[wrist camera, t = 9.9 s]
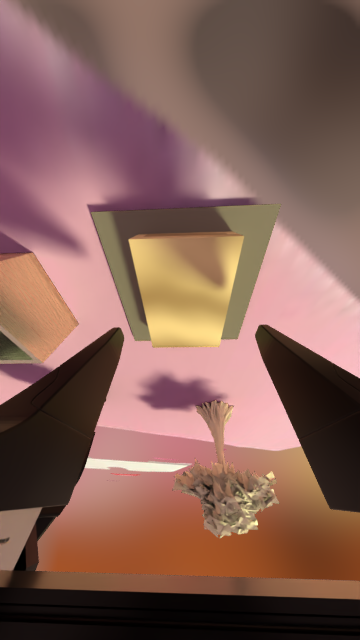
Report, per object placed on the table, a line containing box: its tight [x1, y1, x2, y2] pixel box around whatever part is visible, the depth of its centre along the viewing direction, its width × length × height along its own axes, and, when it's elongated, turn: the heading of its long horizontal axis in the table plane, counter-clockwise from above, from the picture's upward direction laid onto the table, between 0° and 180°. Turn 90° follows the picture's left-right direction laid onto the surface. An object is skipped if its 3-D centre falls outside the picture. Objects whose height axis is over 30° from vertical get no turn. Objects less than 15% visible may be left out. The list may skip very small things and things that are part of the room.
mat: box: [91, 204, 281, 341], centre depth 14 cm, size 13×13×1 cm
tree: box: [173, 400, 279, 538], centre depth 26 cm, size 18×16×17 cm
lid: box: [128, 231, 244, 347], centre depth 12 cm, size 10×7×2 cm
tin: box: [0, 253, 78, 364], centre depth 12 cm, size 8×5×6 cm, turn 2°
